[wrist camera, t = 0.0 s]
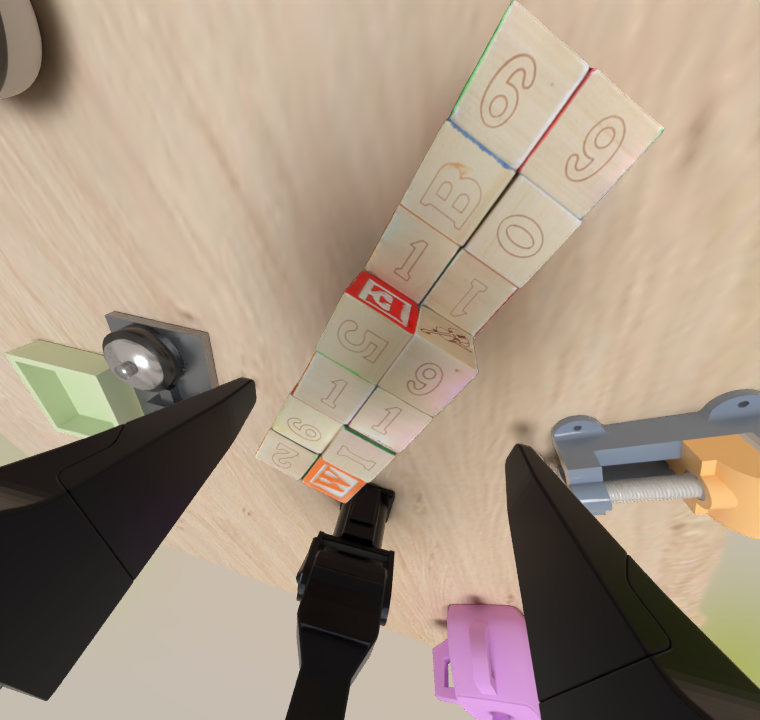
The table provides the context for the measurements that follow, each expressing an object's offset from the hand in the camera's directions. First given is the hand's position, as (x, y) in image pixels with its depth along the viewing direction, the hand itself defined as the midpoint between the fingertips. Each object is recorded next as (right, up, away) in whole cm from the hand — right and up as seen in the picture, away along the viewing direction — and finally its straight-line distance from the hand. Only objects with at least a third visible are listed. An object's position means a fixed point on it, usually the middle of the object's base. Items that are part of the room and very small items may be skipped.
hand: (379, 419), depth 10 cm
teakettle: (+20, -43, +40) cm, 62 cm away
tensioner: (-23, -1, +23) cm, 32 cm away
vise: (+23, -6, +17) cm, 29 cm away
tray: (-35, -2, +26) cm, 43 cm away
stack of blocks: (+3, +8, +12) cm, 15 cm away
